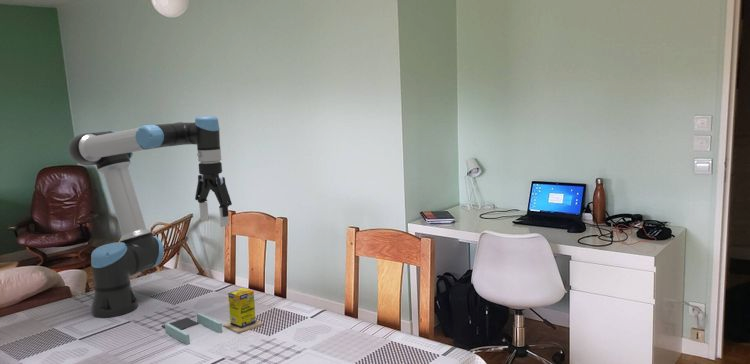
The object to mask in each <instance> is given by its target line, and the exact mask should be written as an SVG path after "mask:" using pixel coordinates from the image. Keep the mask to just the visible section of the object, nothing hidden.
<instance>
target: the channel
mask: <svg viewBox="0 0 750 364" xmlns="http://www.w3.org/2000/svg"><path fill="white" fill-rule="evenodd" d="M196 322H197V323H199V324H200V325H202V326H203V327H207V328H209V329H211V330H213V331H215V332H217V333H218V334H221V333H222V332H223V325H222V322H221V321H218V320H216V319H214V318H212V317H210V316H207V315H205V314H204V313H201V312H197V313H196ZM169 323H170V322H166V323H164V325H165V328H164V331H165V333H166V335H169V336H170V337H172V338H175V339H176V340H178V341H179V342H182V343H183V344H184V345H186V346H187V345H190V344H191V340H190V334H189V333H188V332H185V331H184V330H180V329H178V328H176V327H175V326H173V325H171V324H169Z"/></svg>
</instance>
